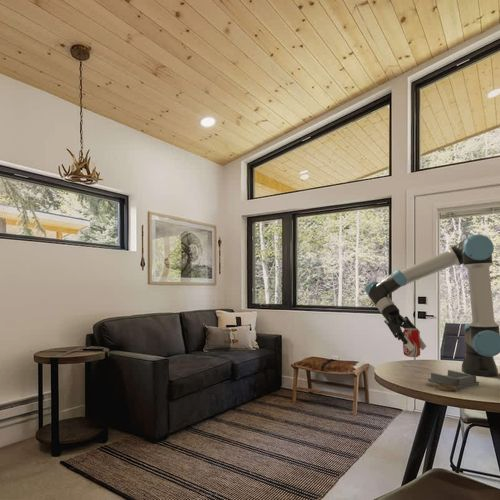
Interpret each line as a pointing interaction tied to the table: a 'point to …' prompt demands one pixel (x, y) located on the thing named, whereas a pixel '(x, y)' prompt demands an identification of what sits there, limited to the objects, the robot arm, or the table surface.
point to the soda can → (414, 339)
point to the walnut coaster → (447, 387)
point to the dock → (454, 379)
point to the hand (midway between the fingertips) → (418, 348)
